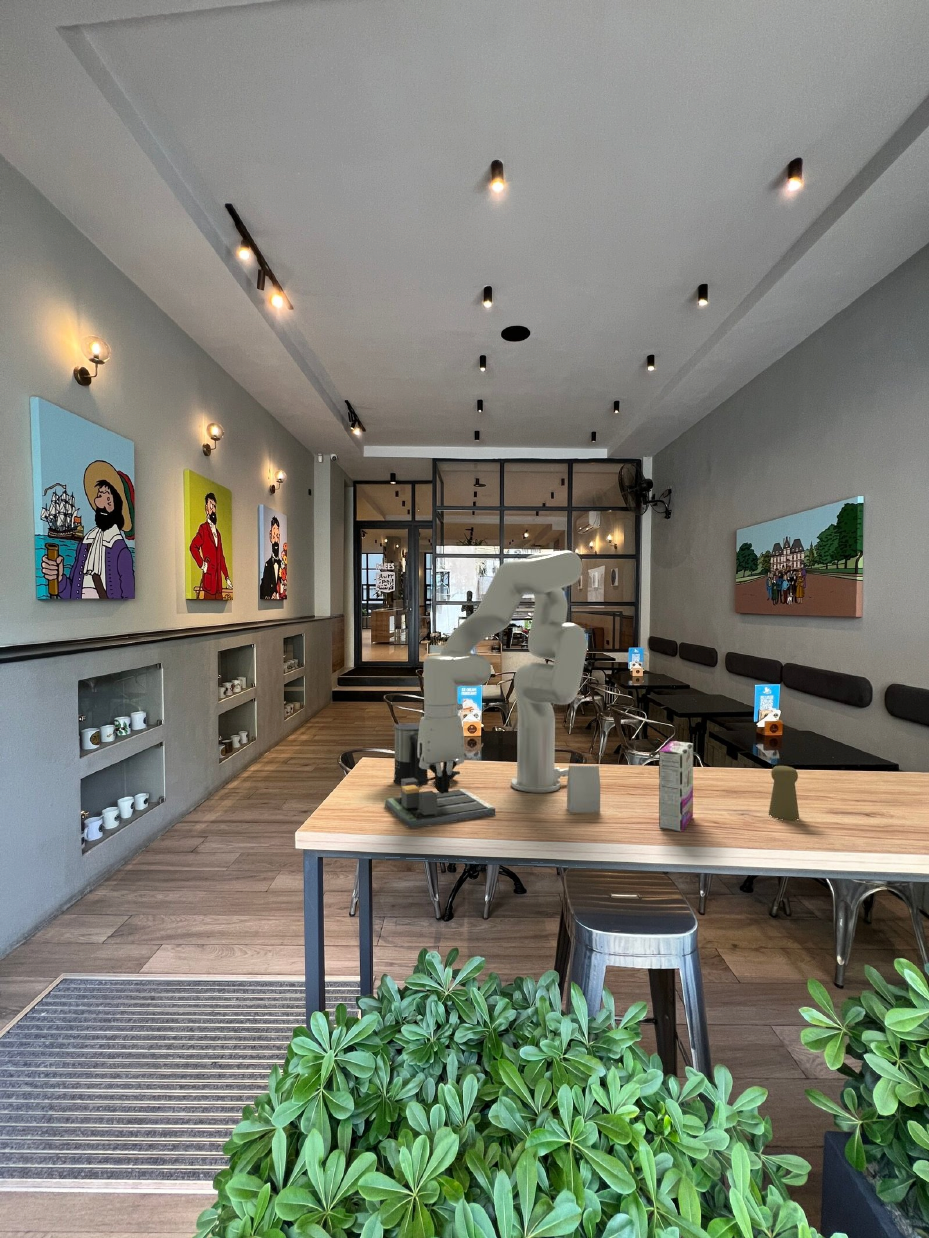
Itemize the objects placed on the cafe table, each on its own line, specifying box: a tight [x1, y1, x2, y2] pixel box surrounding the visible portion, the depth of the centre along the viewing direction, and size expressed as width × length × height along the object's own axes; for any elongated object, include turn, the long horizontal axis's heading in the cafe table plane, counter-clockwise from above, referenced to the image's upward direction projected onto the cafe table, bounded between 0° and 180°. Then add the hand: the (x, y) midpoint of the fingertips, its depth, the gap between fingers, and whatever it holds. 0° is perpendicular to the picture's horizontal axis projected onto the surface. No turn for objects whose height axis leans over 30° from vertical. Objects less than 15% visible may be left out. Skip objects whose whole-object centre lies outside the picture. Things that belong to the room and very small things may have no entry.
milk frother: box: [393, 722, 461, 787], centre depth 158 cm, size 14×16×15 cm
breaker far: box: [400, 778, 419, 797], centre depth 138 cm, size 3×3×4 cm
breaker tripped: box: [402, 785, 420, 809], centre depth 133 cm, size 3×3×4 cm
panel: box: [384, 788, 496, 829], centre depth 136 cm, size 20×16×2 cm
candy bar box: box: [658, 740, 694, 833], centre depth 129 cm, size 11×5×16 cm, turn 148°
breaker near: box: [419, 790, 437, 815], centre depth 128 cm, size 3×3×4 cm
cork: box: [768, 765, 800, 822], centre depth 134 cm, size 6×6×11 cm
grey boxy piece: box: [566, 765, 601, 814], centre depth 137 cm, size 4×7×10 cm, turn 91°
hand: (442, 791), depth 137 cm, fingers closed
